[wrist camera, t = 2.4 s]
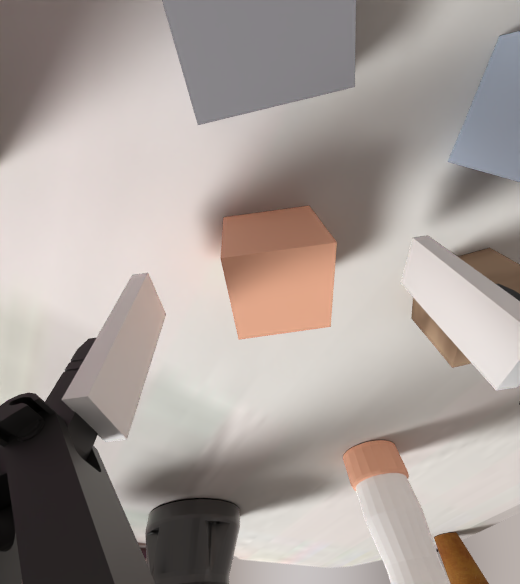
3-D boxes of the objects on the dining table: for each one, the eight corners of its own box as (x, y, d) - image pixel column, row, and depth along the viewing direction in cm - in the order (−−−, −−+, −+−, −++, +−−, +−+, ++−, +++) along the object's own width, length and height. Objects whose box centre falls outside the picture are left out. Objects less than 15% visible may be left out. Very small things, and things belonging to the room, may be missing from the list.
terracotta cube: (308, 276, 18) (330, 326, 14) (237, 286, 18) (238, 339, 14) (308, 205, 15) (336, 242, 11) (223, 216, 15) (220, 258, 11)
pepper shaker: (386, 434, 33) (519, 721, 18) (401, 452, 37) (521, 701, 22) (334, 452, 35) (414, 726, 20) (353, 468, 39) (433, 707, 24)
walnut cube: (474, 301, 21) (532, 348, 17) (410, 317, 21) (452, 367, 17) (488, 247, 18) (562, 289, 14) (415, 267, 18) (466, 314, 14)
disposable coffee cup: (423, 537, 73) (452, 603, 64) (458, 528, 70) (494, 596, 61) (433, 541, 78) (462, 603, 69) (466, 533, 75) (500, 597, 66)
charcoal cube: (313, 91, 12) (354, 86, 8) (209, 117, 12) (197, 125, 8) (303, -85, 9) (359, -231, 5) (166, -47, 9) (116, -158, 5)
